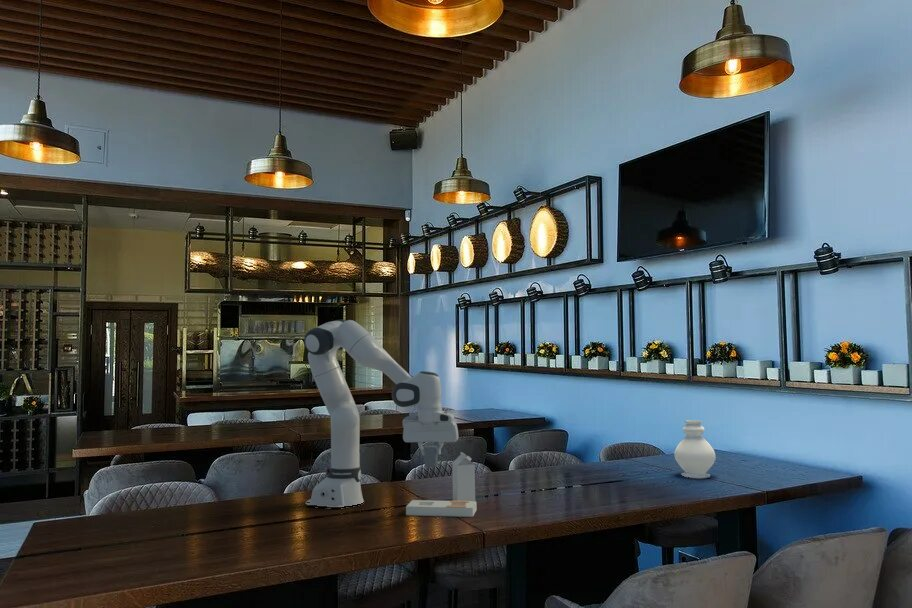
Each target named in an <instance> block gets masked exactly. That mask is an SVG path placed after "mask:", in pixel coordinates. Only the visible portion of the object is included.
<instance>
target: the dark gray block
mask: <svg viewBox="0 0 912 608" xmlns="http://www.w3.org/2000/svg"><path fill="white" fill-rule="evenodd" d="M423 448H424V455H423V456H424V457H423V458H424V468H436V467H437V466H439V459H438V458H439V457H438V456H439V455H436V449H438V445H426V446H424V447H423Z"/></svg>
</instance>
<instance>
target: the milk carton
mask: <svg viewBox="0 0 912 608" xmlns="http://www.w3.org/2000/svg"><path fill="white" fill-rule="evenodd" d="M471 460H472V457H470V456H469V455H466V454H465V453H464V452H462V451H460V455H459V456H458V457H457V458H455V460H454V461H452V465H451V466H452V467H451V468H452V500H459V501H476V480H475V479H476V473H475V472H476V471H475V469H476V468H475V464H474V462H472V461H471Z"/></svg>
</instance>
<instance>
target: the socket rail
mask: <svg viewBox="0 0 912 608" xmlns="http://www.w3.org/2000/svg"><path fill="white" fill-rule="evenodd" d="M477 506H478V505H477V501H476V500H475V501H459V500H453V499H452V500H430V499H429V500H427V499H426V500H425V499H424V500H423V499H412V500H411V501H410V502H409V503H408V504H407V505H406V506H405V516H424V517H425V516H426V517H429V516H431V517H460V518H461V517H465V518H466V517H469V518H471V517H474V515H475V514H476V512H477V509H478V508H477Z"/></svg>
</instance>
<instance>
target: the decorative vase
mask: <svg viewBox="0 0 912 608" xmlns="http://www.w3.org/2000/svg"><path fill="white" fill-rule="evenodd" d="M684 423H685V425H684V426H683V428H682V431H683V433H684V434H685V435H686V436H684V438H682V440H680V441H679V443H678V444H677V446H676V448H675V449H674V454H673V455H674V459H675V461H676V463H677V464H678V465H679V467H680V468H681V469H682V470H683V472H682V473H680V475H682V476H681V477H683V476H684V477H683V478H688V477H689V478H688V479H707V478H711V474H709V473H707V472H708V471H709V470H710V469H711V467H712V466H713V465H714V463H715V462H716V457H717V455H716V452H715V449H714V448H713V446H712V445H711V444H710V442H708V441H707V440H706V439H705V438H704V437H703V436H702V435H703V434H704V433H705V427H704V426H703V425H701V424H703V420H698V419H686V420H684Z"/></svg>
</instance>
